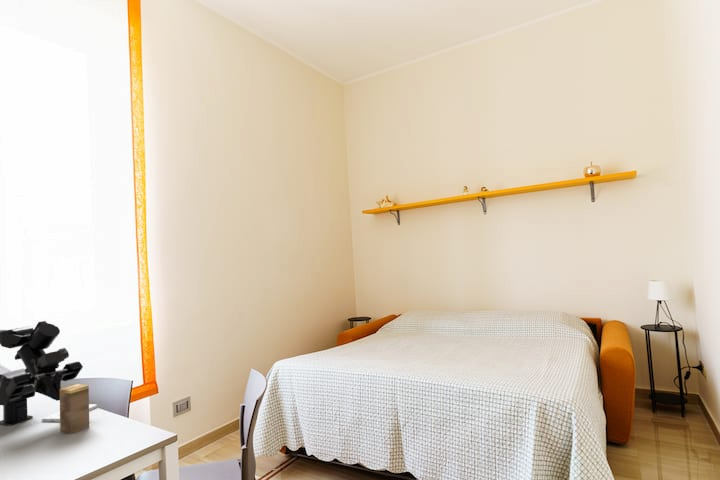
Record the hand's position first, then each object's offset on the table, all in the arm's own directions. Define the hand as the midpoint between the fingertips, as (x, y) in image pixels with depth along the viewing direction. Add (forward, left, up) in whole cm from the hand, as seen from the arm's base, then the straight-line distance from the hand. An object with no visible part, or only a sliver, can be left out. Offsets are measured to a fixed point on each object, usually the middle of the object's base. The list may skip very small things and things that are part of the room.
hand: (59, 399), depth 122 cm
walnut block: (+7, 0, -8) cm, 11 cm away
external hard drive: (-8, +8, -9) cm, 14 cm away
